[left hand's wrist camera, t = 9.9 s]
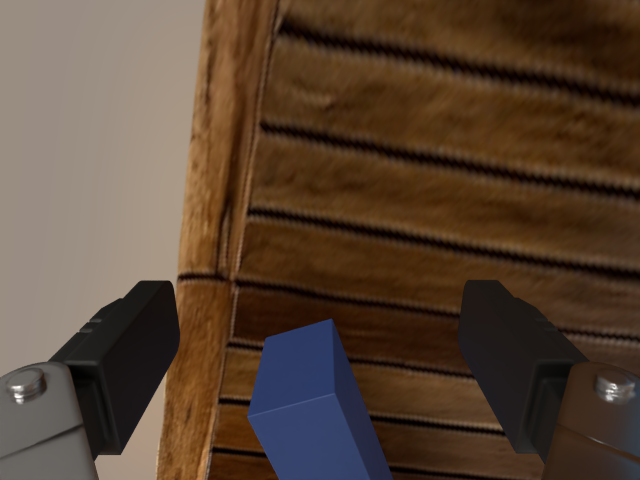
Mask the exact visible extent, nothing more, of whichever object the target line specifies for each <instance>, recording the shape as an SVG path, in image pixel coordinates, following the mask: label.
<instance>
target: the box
mask: <svg viewBox="0 0 640 480" xmlns="http://www.w3.org/2000/svg"><path fill="white" fill-rule="evenodd" d="M247 417H248V420H249V422H250V423H251V425H252V427H253V429H254V431H255V433H256V435H257V437H258V439H259V441H260V443H261V445H262V447H263V449H264V451H265V453H266V455H267V456H268V458H269V460H270V462H271V464H272V466H273V468H274V470H275V472H276V474H277V476H278V478H279V480H393V477H392V475H391V472H390V469H389V467H388V464H387V462H386V459H385V456H384V454H383V451H382V448H381V446H380V443H379V441H378V438H377V435H376V433H375V430H374V427H373V425H372V422H371V419H370V417H369V414H368V412H367V409H366V406H365V404H364V401H363V398H362V396H361V393H360V391H359V388H358V385H357V383H356V380H355V377H354V375H353V372H352V370H351V367H350V364H349V362H348V359H347V356H346V354H345V351H344V348H343V346H342V343H341V341H340V338H339V335H338V333H337V330H336V327H335V325H334V322H333V320H332V319H329V320H326V321H322V322H319V323H315V324H312V325H308V326H305V327H302V328H298V329H295V330H291V331H288V332H284V333H281V334H278V335H274V336H271V337H267V338H266V339H265V343H264V348H263V352H262V356H261V361H260V365H259V369H258V373H257V378H256V382H255V386H254V390H253V395H252V399H251V403H250V407H249V412H248V416H247Z"/></svg>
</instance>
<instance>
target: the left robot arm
mask: <svg viewBox="0 0 640 480" xmlns="http://www.w3.org/2000/svg"><path fill="white" fill-rule="evenodd" d="M179 342H180V329H179V322H178V315H177V308H176V301H175V294H174V288H173V285H172V283H171V282H170V281H139V282H138V283H137V284H136V285H135V286H134V287H133V288H132V289H131V290H130V292H129V293H128V294H127V295H126V296H125V297H124V298H119V299H117V300H116V301H114V302H112V303H110V304H108V305H107V306H105V307H103V308H101V309H100V310H99V311H98V312H97V313H96V314H95V315H94V316H93V317H92V318H91V319H90V322H87V323H86V324H85V325H84V326H83V327H82V328H81V329H80V332H77V333H76V334H75V335H74V336H73V337H72V338H71V339H70V340H69V341H68V342H67V343H66V344H65V345H64V346H63V347H62V348H61V349H60V350H59V351H58V352H57V353H56V354H55V355H54V356H53V357H51V359H49V360H48V361H47V362H40V363H35V364H31V365H27V366H24V367H21V368H18V369H16V370H14V371H11V372H9V373H7V374H6V375H4V376H2V377H0V480H99V478H98V474H97V471H96V467H95V463H94V461H95V460H96V458H97V456H98V455H121V453H122V452H123V450H124V448H125V446H126V444H127V442H128V441H129V439H130V437H131V435H132V433H133V432H134V430H135V428H136V426H137V424H138V422H139V421H140V419H141V417H142V415H143V413H144V412H145V410H146V408H147V406H148V404H149V403H150V401H151V399H152V397H153V395H154V393H155V392H156V390H157V388H158V386H159V384H160V383H161V381H162V379H163V377H164V375H165V374H166V372H167V370H168V368H169V366H170V364H171V363H172V361H173V359H174V357H175V355H176V353H177V351H178V347H179ZM458 342H459V347H460V350H461V353H462V355H463V357H464V359H465V360H466V362H467V364H468V366H469V368H470V370H471V371H472V373H473V375H474V377H475V379H476V381H477V382H478V384H479V386H480V388H481V390H482V392H483V393H484V395H485V397H486V399H487V401H488V403H489V405H490V406H491V408H492V410H493V412H494V414H495V416H496V417H497V419H498V421H499V423H500V425H501V427H502V428H503V430H504V432H505V434H506V436H507V438H508V439H509V441H510V443H511V445H512V447H513V449H514V450H515V452H516V453H538V454H539V456H540V457H541V459H542V461H543V462H544V464H545V467H544V471H543V474H542V478H541V480H640V377H638V376H636V375H634V374H633V373H631V372H629V371H626V370H624V369H622V368H619V367H616V366H613V365H609V364H605V363H600V362H590V361H589V360H588V359H587V358H586V357H585V356H584V355H583V354H582V353H581V352H580V351H579V350H578V349H577V348H576V347H575V346H574V345H573V344H572V343H571V342H570V341H569V340H568V339H567V338H566V337H565V336H564V335H563V334H562V333H561V332H558V331H557V328H556V327H555V326H554V325H553V324H552V323H551V322H548V319H547V318H546V317H545V316H544V315H543V314H542V313H541V312H540V311H539V310H538V309H537V308H536V307H534V306H532V305H530V304H529V303H527V302H525V301H523V300H521V299H520V298H514V297H513V296H512V295H511V294H510V293H509V291H508V290H507V289H506V288H505V287H504V286H503V285H502V284H501V283H500V282H499V281H498V280H468V281H467V282H466V284H465V286H464V291H463V299H462V306H461V313H460V320H459V327H458Z"/></svg>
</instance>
